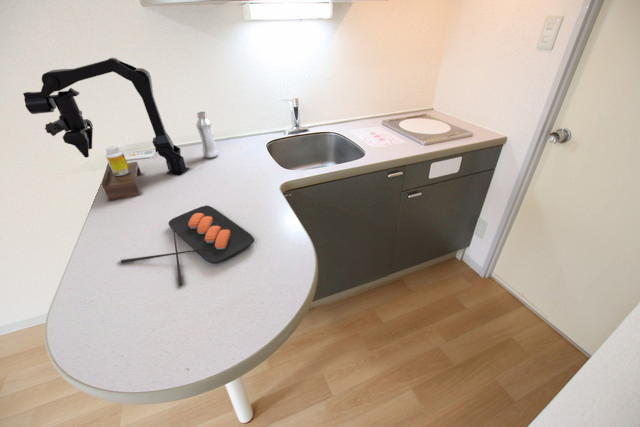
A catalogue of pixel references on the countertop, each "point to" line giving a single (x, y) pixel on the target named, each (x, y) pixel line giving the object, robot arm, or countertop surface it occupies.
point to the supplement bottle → (117, 161)
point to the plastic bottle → (206, 135)
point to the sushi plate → (207, 236)
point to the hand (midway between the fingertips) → (88, 152)
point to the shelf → (121, 183)
